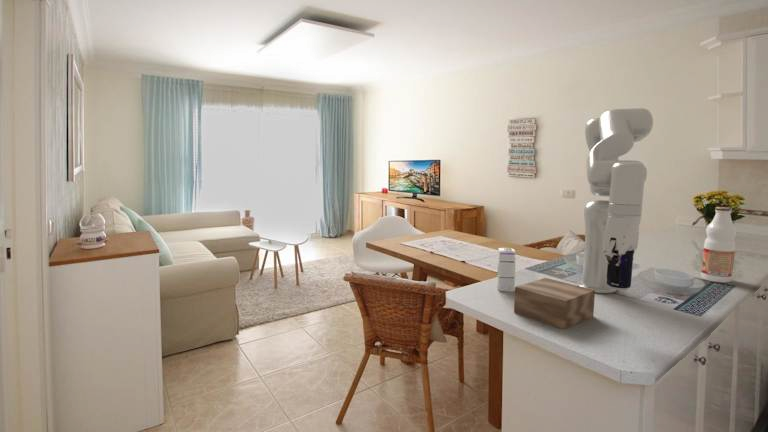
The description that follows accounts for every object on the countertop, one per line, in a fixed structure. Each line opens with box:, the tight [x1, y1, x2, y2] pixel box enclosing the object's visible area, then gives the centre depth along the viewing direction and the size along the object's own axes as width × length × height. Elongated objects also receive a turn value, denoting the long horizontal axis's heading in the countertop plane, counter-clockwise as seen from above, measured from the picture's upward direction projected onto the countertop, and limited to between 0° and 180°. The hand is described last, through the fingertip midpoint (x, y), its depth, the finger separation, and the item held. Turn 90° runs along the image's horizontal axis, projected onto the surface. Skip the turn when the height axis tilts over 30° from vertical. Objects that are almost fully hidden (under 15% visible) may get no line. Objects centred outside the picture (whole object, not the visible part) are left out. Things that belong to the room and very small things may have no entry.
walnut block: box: [513, 277, 596, 330], centre depth 125 cm, size 16×16×8 cm
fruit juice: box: [700, 206, 738, 284], centre depth 160 cm, size 9×9×28 cm
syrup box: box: [496, 247, 516, 293], centre depth 149 cm, size 6×6×14 cm
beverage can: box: [607, 245, 635, 291], centre depth 111 cm, size 6×6×12 cm
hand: (619, 276), depth 112 cm, fingers closed on beverage can, 5 cm apart
